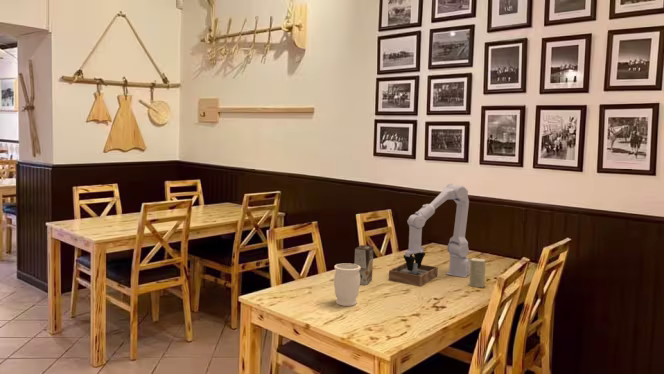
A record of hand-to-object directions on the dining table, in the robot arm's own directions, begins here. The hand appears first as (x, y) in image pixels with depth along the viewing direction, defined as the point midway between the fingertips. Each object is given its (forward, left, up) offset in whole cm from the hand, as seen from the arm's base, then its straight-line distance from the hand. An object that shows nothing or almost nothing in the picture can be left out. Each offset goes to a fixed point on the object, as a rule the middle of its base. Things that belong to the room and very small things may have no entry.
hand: (414, 268), depth 251 cm
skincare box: (-28, -7, -5) cm, 29 cm away
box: (0, 0, -5) cm, 5 cm away
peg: (0, 0, -5) cm, 5 cm away
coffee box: (+16, +20, -5) cm, 26 cm away
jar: (+7, +50, -5) cm, 51 cm away
